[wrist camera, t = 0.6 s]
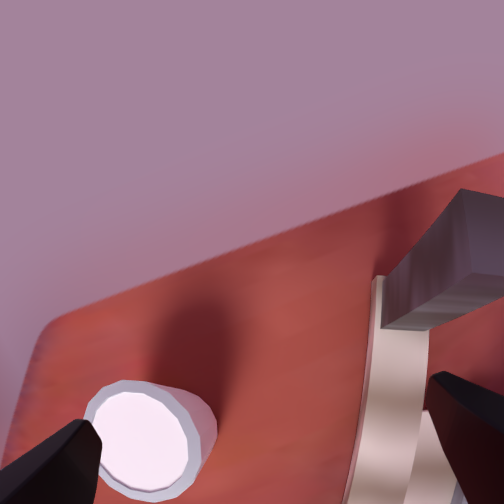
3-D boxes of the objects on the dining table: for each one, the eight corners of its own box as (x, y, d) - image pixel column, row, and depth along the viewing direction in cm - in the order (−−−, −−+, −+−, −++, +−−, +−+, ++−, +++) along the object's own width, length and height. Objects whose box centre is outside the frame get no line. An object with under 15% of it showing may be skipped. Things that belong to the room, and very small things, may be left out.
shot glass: (189, 362, 21) (149, 354, 15) (247, 441, 19) (230, 469, 13) (117, 409, 20) (61, 414, 14) (169, 485, 18) (127, 518, 12)
